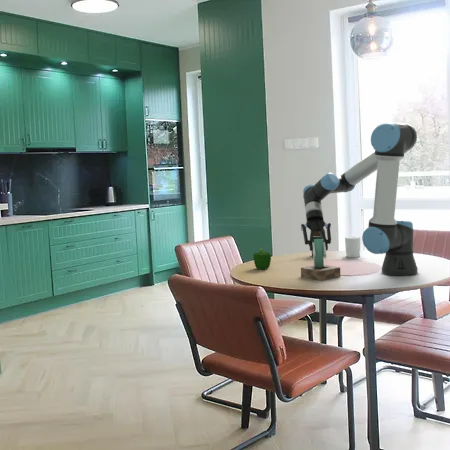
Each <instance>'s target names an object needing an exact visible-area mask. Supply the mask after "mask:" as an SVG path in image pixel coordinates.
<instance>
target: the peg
mask: <svg viewBox="0 0 450 450" xmlns="http://www.w3.org/2000/svg"><path fill="white" fill-rule="evenodd" d="M314 245H315V253H316V256H315V258H313V261H314V263H313V264H314V265H313V266H314V267H324V265H325V264H324V259H325V258H324V256H323V239H314Z"/></svg>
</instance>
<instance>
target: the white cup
mask: <svg viewBox="0 0 450 450" xmlns="http://www.w3.org/2000/svg"><path fill="white" fill-rule="evenodd" d="M361 239H362V238H361V236H345V237H344V243H345V244H344V245H345V255H346V257H347V258H360V256H361V255H360V254H361Z"/></svg>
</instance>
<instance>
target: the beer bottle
mask: <svg viewBox="0 0 450 450" xmlns="http://www.w3.org/2000/svg"><path fill="white" fill-rule="evenodd" d="M323 231H324V234H325V236H326V237H327V234H326V229H325V228H324V227H323ZM314 239H322V238H321V236H320V234H319V232H318V231H315V232H313V240H312V242H314ZM311 256H312V257H313V251H311ZM323 256H324V253H323Z"/></svg>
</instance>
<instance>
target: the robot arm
mask: <svg viewBox="0 0 450 450" xmlns="http://www.w3.org/2000/svg"><path fill="white" fill-rule="evenodd" d="M417 140H418V134H417V131H416V129H415V128H414V127H413V126H412V125H411V124H409V123H405V122H383V123H381V124H378V125H377V126H376V127H375V128H374V129H373V130H372V132H371V135H370V144H371V146H372V148H373V151H372V152H370V153H369V154H368V155H367V156H365V157H364V158H362V159H361V160H360V161H359V162H357V163H356V164H355V165H353V166H352V167H351V168H349V169H348V170H347V171H345V172H343V174H341V175H338V176H337V174H335V173H332V172H328V173H326V174H325V175H323V176H322V177H321V178H320V179H319V180H318V181H317V182H315V184H309V185H306V186H305V187H304V188H303V191H302V192H303V203H304V209H305V218H306V223H301V225H300V230H301V231H302V235H303V241H304V245H308V246H309V251H310V252H312V251H313V256H312V258H313V259H314V258H315V256H316V253H315V245H314V242H312V240H313V232H315V231H318V232H319V234H320V236H321V238H322V239H323V253H324V259H325V258H327V254H328V253H327V251H328V250H329V249H328V248H329V245H330V244H331V243H332V236H331V228H332V227H331V226H332V224H331V223H330V222H329V223H326V222H325V220H324V214H323V207H322V201H323V200H324V199H325V198H326V197H327V196H328V195H330V194H339V193H348V192H351V191H353V190H354V189H355V188H356V185H358V183H360V182H361V181H363V180H365V179H366V178H368V177H369V176H370V175H372V174H373V173H374V172H376V179H375V180H376V181H375V192H374V200H373V201H374V202H373V204H374V205H373V211H372V215H373V216H372V217H371V218H370V219H369V220H368V227H367V228H366V229H365V230H364V231H363V233H362V236H361V237H362V238H361V239H362V240H361V241H362V244H363V246H364V248H365V249H366V250H367V251H368V252H370V253H372V254H374V255H384V254H385V255H384V260H383V262H382V266H381V273H382V274H384V275H387V276H400V277H401V276H414V275H417V274H418V272H419V271H418V270H419V268H418V266H417V263H416V260H415V256H414V224H413V222H412V221H409V220H396V219H395V213H396V202H397V194H398V193H397V192H398V182H399V171H400V161H401V160H402V159H404V157H405V154H406V153H407V152H409V151H410V150H411V149H413V148H414V146H415V145H416V143H417V142H418V141H417ZM324 227H325V230H326V233H325V234H324V231H323V228H324ZM307 228H308V229H309V230H310V235H309V239H308V233H307V232H308V231H307ZM325 235H326V236H325Z"/></svg>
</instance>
